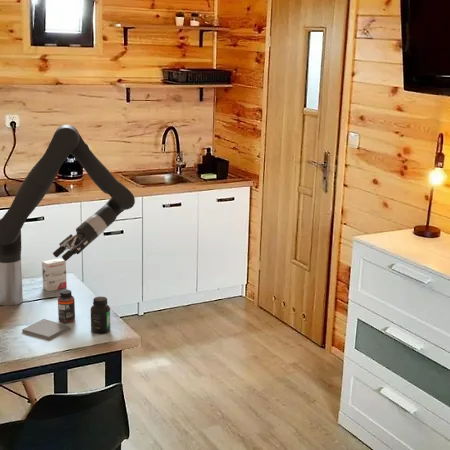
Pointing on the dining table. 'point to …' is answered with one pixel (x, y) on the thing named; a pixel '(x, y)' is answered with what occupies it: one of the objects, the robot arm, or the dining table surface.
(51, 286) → the ink box
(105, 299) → the supplement bottle
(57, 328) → the slate tile
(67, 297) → the supplement bottle
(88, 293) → the dining table surface
